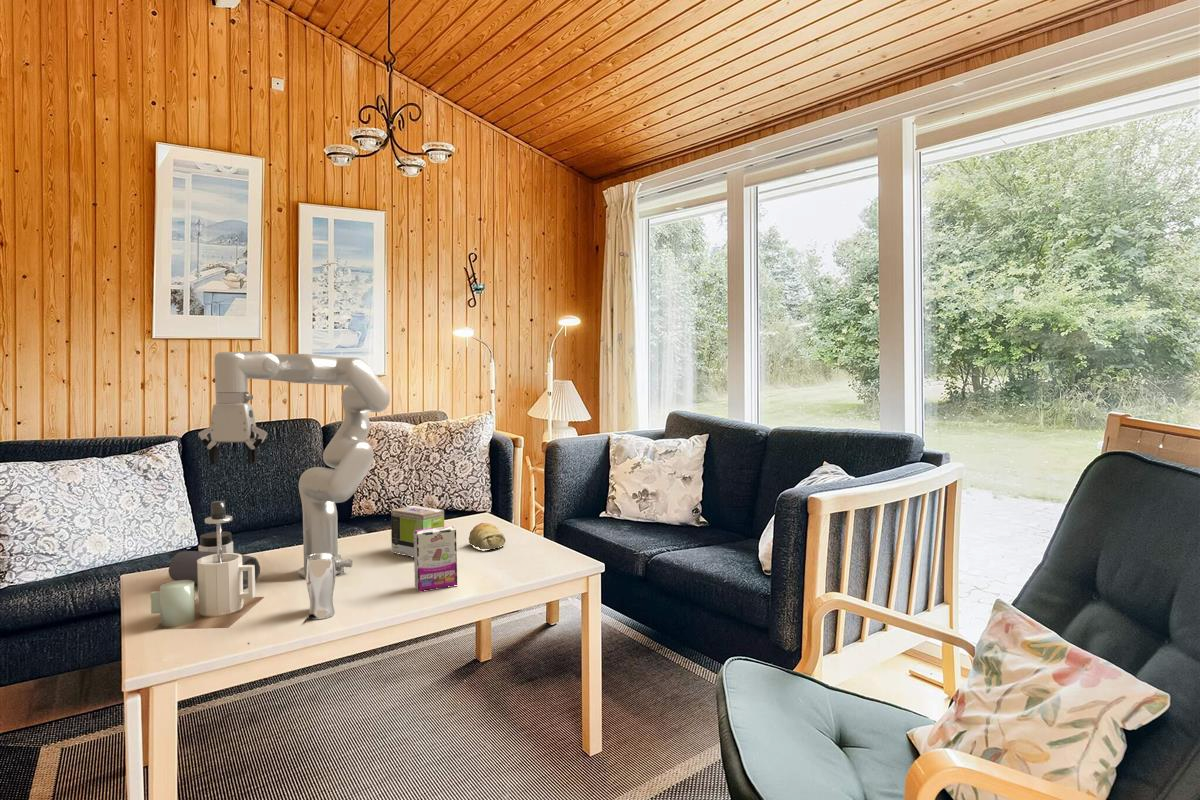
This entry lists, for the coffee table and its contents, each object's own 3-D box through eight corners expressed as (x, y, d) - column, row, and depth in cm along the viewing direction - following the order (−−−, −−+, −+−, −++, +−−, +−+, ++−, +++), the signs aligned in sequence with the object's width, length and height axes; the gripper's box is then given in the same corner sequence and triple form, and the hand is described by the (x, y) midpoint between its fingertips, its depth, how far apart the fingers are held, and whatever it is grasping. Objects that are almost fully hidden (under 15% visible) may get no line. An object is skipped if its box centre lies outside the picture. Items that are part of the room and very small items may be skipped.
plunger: (239, 563, 177) (237, 499, 176) (227, 571, 170) (225, 504, 169) (212, 564, 176) (210, 499, 175) (199, 572, 170) (197, 505, 169)
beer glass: (311, 610, 177) (310, 552, 176) (339, 609, 178) (338, 551, 177) (302, 620, 170) (301, 560, 169) (331, 619, 171) (330, 559, 170)
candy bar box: (452, 581, 201) (452, 525, 200) (457, 586, 196) (457, 529, 195) (413, 587, 196) (412, 529, 195) (417, 592, 191) (417, 533, 190)
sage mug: (200, 615, 170) (199, 579, 169) (186, 627, 163) (184, 589, 162) (160, 616, 169) (159, 580, 169) (144, 628, 162) (143, 590, 162)
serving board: (264, 601, 184) (264, 596, 184) (228, 632, 163) (228, 627, 163) (197, 602, 182) (197, 598, 182) (152, 634, 161) (152, 629, 161)
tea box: (445, 553, 229) (445, 509, 228) (422, 561, 221) (422, 514, 220) (413, 546, 237) (413, 503, 236) (390, 553, 229) (389, 509, 228)
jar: (200, 581, 200) (199, 539, 199) (198, 573, 207) (197, 533, 206) (235, 575, 205) (234, 535, 204) (232, 568, 212) (231, 529, 211)
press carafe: (262, 602, 179) (260, 552, 179) (246, 616, 170) (244, 563, 169) (210, 603, 178) (208, 553, 178) (191, 617, 169) (189, 564, 168)
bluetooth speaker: (262, 585, 196) (261, 550, 195) (238, 596, 187) (237, 560, 186) (194, 579, 201) (193, 545, 201) (167, 590, 192) (166, 554, 192)
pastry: (475, 540, 246) (475, 518, 245) (509, 542, 244) (509, 519, 244) (462, 551, 232) (462, 527, 231) (499, 553, 230) (498, 529, 230)
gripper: (271, 398, 186) (273, 461, 188) (206, 398, 186) (208, 461, 187) (258, 400, 179) (260, 466, 180) (190, 399, 178) (192, 466, 180)
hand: (233, 463), depth 184 cm, fingers open, 9 cm apart
